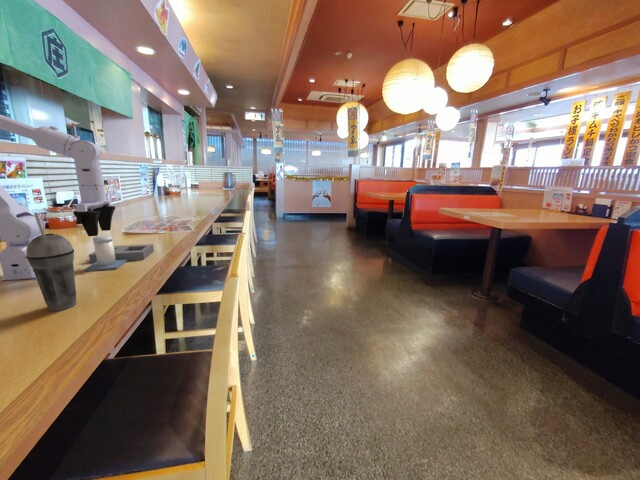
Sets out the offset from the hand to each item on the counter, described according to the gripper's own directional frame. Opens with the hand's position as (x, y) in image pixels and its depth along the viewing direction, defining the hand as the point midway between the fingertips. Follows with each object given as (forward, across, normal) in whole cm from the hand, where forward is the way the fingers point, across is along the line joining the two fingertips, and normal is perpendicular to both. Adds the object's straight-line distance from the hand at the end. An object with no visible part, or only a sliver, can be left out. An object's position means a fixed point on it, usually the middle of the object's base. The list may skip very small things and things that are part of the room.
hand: (99, 233), depth 85 cm
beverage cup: (+10, -28, -4) cm, 30 cm away
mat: (+10, -1, -1) cm, 10 cm away
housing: (+10, +9, -2) cm, 13 cm away
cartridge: (+9, -1, -1) cm, 9 cm away
